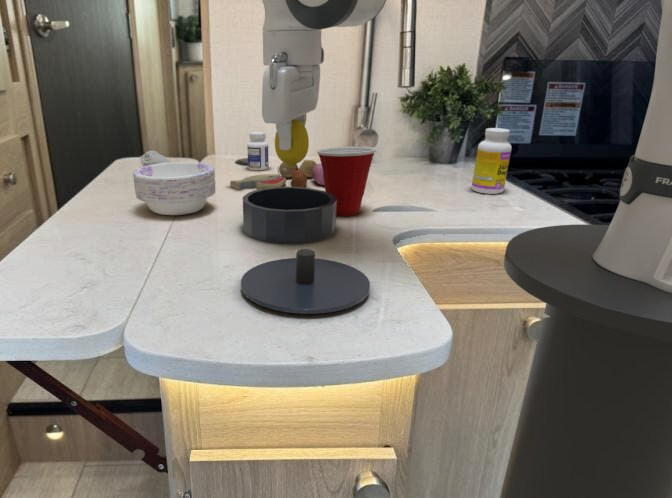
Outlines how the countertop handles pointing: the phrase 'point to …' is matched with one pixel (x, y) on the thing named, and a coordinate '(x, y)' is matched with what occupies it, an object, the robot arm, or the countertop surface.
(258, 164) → the pill bottle
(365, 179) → the plastic cup
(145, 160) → the frog figurine
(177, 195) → the paper bowls
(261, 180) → the toy food set
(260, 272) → the lid
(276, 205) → the pot
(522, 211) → the countertop surface
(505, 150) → the supplement bottle
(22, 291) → the countertop surface
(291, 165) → the lemon
